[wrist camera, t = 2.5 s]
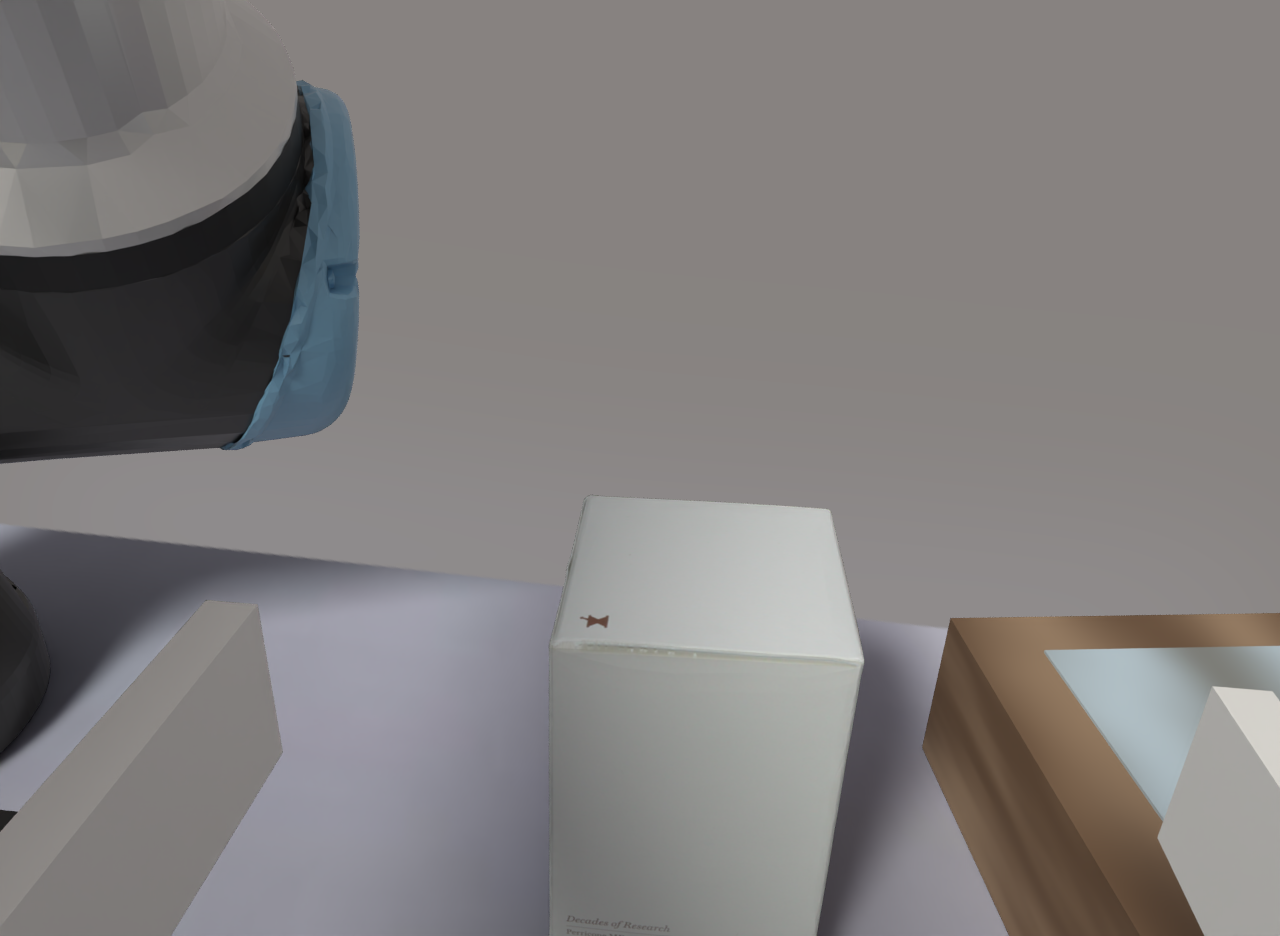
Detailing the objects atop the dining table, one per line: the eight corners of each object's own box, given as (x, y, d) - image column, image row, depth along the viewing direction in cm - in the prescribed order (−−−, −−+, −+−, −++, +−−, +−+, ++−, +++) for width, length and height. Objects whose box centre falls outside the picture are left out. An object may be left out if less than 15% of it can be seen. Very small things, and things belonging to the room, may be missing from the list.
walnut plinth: (1085, 1099, 26) (1148, 944, 23) (922, 747, 37) (951, 615, 34) (1574, 1070, 27) (1691, 920, 24) (1269, 738, 38) (1325, 610, 36)
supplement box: (807, 1029, 27) (873, 666, 21) (542, 1003, 28) (536, 641, 22) (791, 822, 34) (837, 502, 28) (577, 804, 34) (580, 485, 28)
